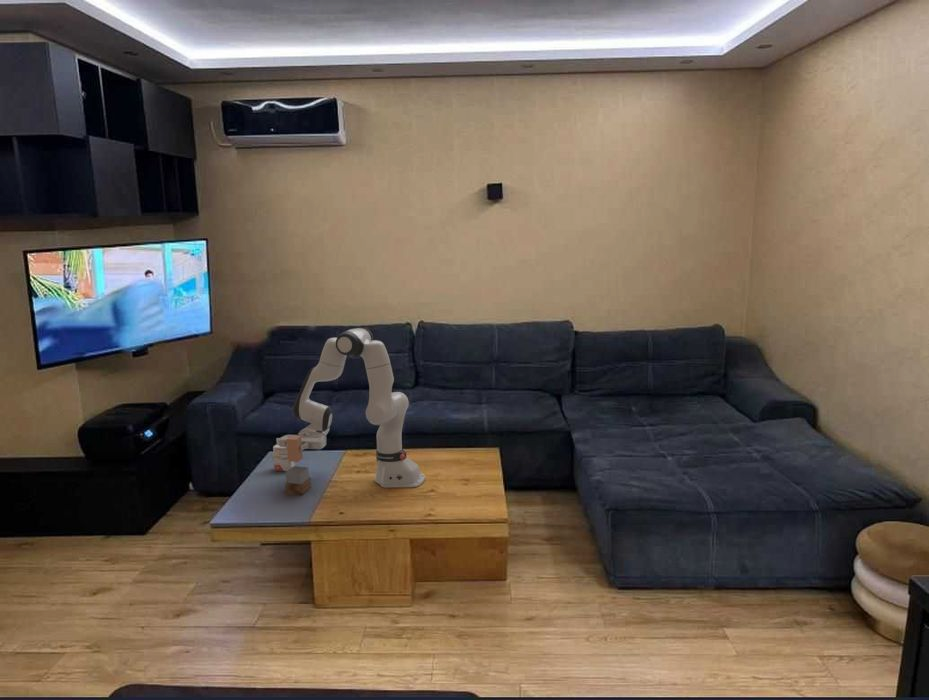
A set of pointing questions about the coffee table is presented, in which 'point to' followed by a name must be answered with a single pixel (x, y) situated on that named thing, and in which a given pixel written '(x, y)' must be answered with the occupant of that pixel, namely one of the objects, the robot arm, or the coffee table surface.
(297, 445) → the terracotta block
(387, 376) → the robot arm
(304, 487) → the tower base
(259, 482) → the coffee table surface
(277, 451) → the ink cartridge box
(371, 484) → the coffee table surface
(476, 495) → the coffee table surface
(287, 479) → the tower top
